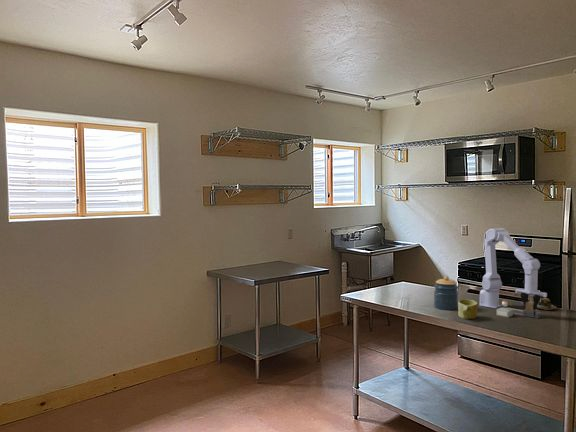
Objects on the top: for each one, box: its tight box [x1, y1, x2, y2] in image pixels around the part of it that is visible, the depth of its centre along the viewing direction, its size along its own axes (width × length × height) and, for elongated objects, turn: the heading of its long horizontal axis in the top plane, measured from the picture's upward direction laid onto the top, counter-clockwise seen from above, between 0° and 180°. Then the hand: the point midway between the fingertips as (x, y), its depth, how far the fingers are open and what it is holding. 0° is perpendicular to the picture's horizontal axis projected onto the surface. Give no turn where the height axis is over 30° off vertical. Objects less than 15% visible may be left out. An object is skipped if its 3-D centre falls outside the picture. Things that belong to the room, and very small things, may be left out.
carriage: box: [522, 300, 539, 318], centre depth 235 cm, size 5×6×7 cm
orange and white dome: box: [501, 300, 509, 307], centre depth 236 cm, size 3×3×2 cm
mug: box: [457, 298, 479, 320], centre depth 233 cm, size 12×10×10 cm
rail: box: [500, 305, 542, 319], centre depth 238 cm, size 18×5×3 cm, turn 42°
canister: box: [433, 275, 460, 311], centre depth 253 cm, size 13×13×18 cm
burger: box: [537, 297, 558, 312], centre depth 250 cm, size 12×12×8 cm
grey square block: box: [495, 307, 514, 318], centre depth 237 cm, size 6×6×3 cm
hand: (530, 308), depth 235 cm, fingers closed on carriage, 4 cm apart
